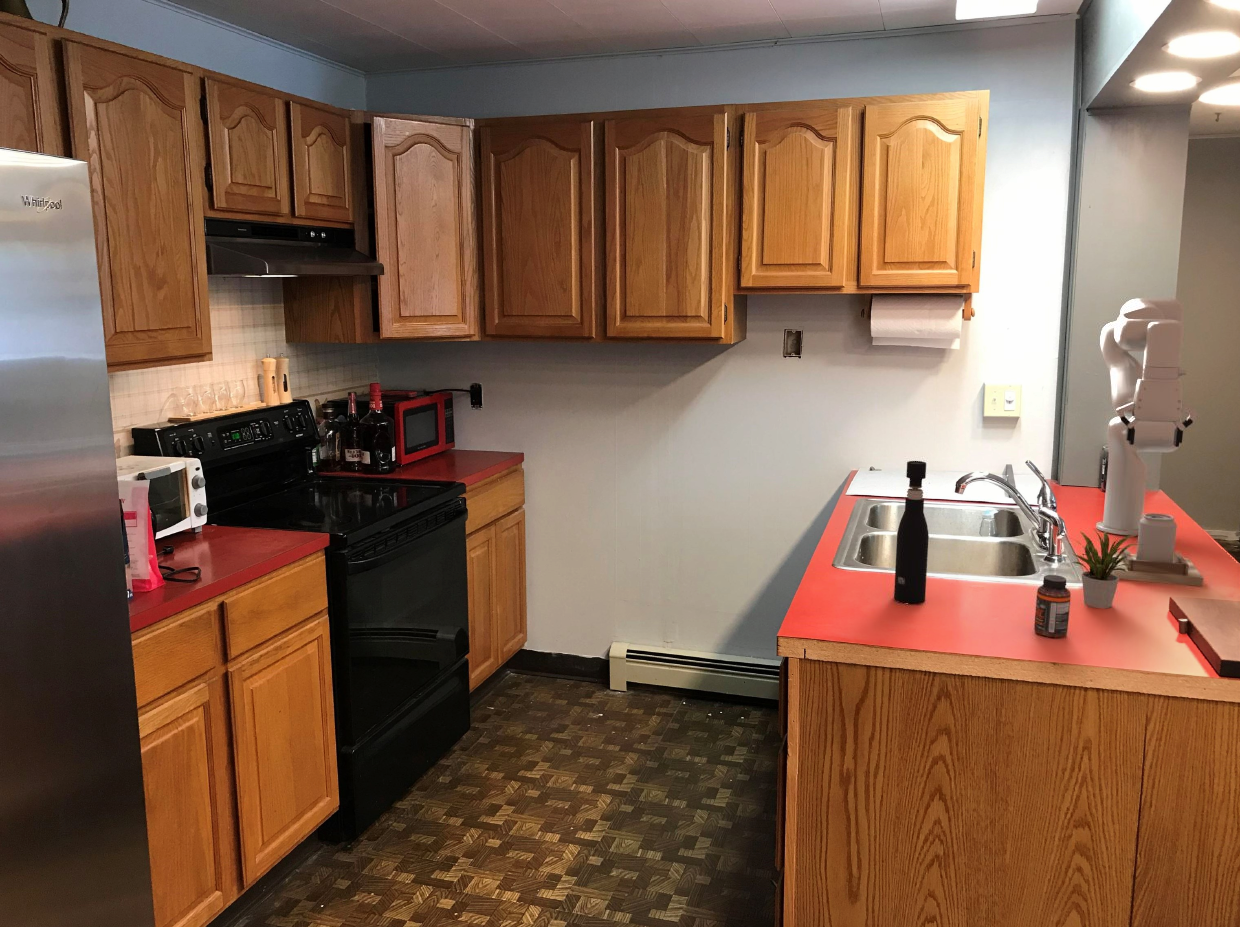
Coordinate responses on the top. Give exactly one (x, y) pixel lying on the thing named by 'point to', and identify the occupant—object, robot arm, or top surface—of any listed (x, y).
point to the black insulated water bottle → (912, 541)
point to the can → (1156, 538)
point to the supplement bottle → (1052, 607)
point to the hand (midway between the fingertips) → (1153, 445)
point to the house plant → (1101, 571)
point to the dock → (1159, 570)
